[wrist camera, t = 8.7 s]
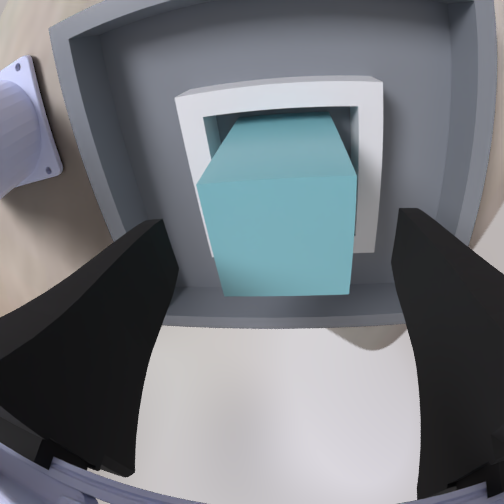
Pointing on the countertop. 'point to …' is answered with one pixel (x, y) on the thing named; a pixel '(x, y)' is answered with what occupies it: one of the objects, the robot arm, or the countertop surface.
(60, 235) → the countertop surface
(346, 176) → the teal rectangular block
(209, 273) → the grey square tray
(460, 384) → the robot arm
